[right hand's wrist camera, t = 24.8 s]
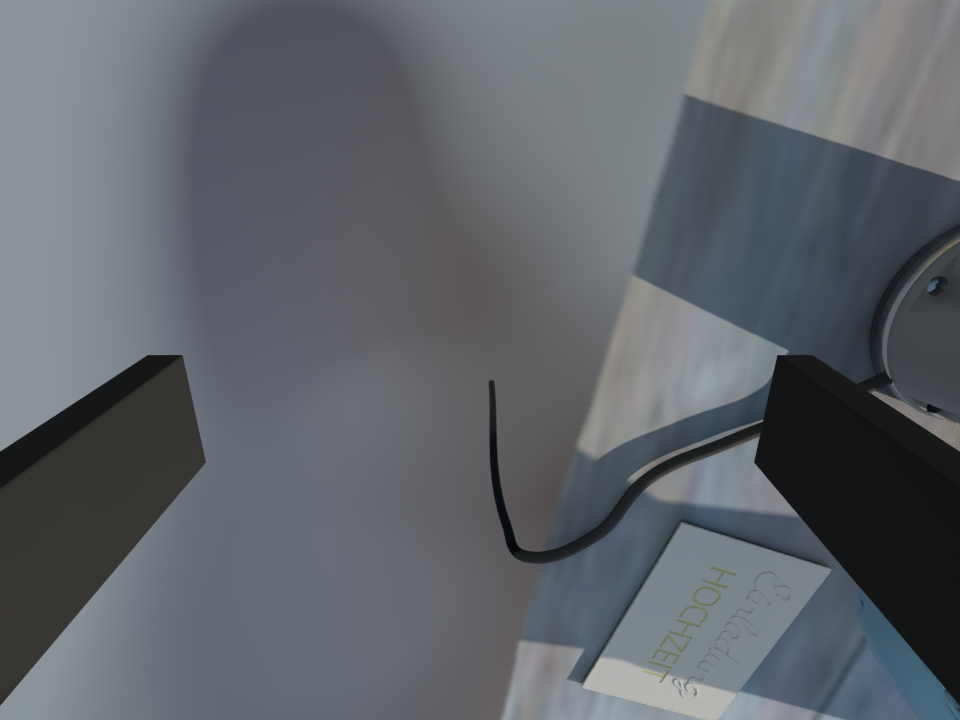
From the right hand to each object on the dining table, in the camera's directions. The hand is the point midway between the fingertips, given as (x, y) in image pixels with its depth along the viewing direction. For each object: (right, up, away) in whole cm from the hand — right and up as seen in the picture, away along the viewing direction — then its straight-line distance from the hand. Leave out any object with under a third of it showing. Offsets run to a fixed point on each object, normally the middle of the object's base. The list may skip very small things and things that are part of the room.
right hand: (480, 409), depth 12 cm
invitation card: (+21, -24, +40) cm, 51 cm away
